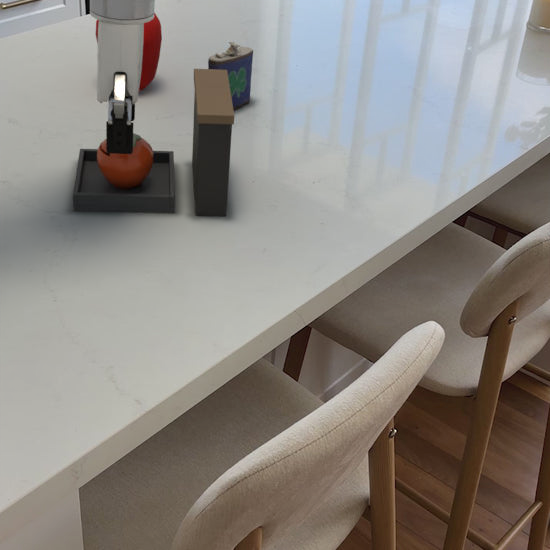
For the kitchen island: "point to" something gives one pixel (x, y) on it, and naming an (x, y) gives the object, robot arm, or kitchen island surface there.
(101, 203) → the pan
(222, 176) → the tower
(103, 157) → the tomato
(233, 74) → the flask
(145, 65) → the apple
